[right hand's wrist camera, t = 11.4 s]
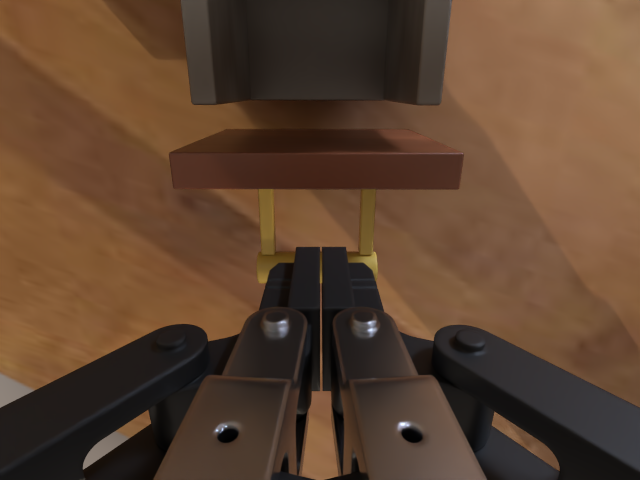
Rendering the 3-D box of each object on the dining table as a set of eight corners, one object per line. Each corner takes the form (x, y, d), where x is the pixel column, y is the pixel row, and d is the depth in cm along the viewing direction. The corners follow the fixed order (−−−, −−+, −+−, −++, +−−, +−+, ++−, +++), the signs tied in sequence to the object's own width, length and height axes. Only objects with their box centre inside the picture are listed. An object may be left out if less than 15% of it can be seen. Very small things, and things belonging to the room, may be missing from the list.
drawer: (400, 247, 22) (441, 328, 15) (234, 247, 22) (191, 328, 15) (442, -282, 15) (574, -677, 7) (191, -283, 15) (55, -680, 7)
